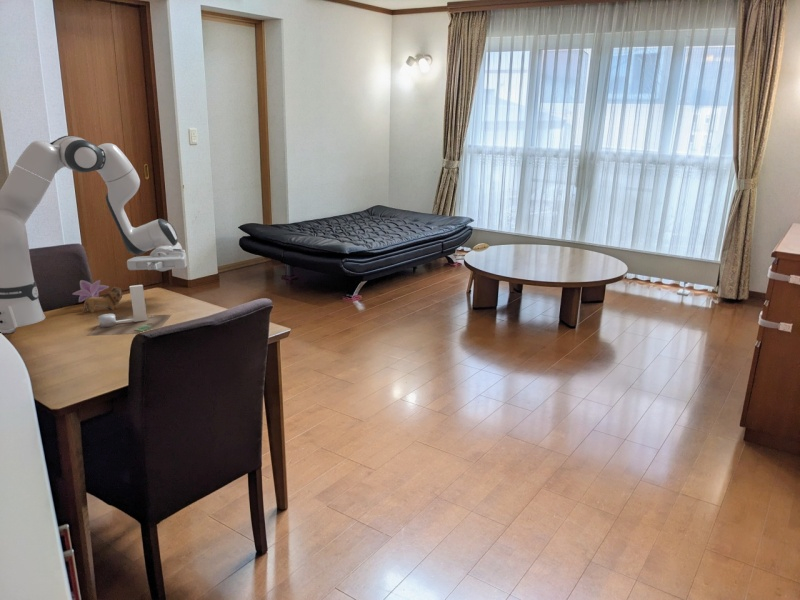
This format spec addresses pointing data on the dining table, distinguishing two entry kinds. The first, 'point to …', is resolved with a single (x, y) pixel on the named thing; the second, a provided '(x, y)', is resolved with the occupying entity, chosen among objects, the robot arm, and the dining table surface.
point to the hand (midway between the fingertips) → (151, 267)
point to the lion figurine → (104, 300)
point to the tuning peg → (137, 306)
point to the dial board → (131, 325)
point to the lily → (89, 289)
